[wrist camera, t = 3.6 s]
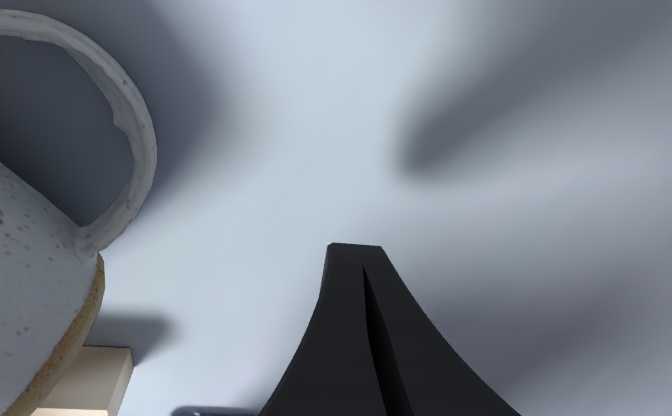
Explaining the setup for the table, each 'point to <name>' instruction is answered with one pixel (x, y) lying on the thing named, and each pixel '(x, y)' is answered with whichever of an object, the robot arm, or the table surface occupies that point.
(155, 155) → the ceramic mug
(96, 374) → the rails
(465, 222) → the table surface
